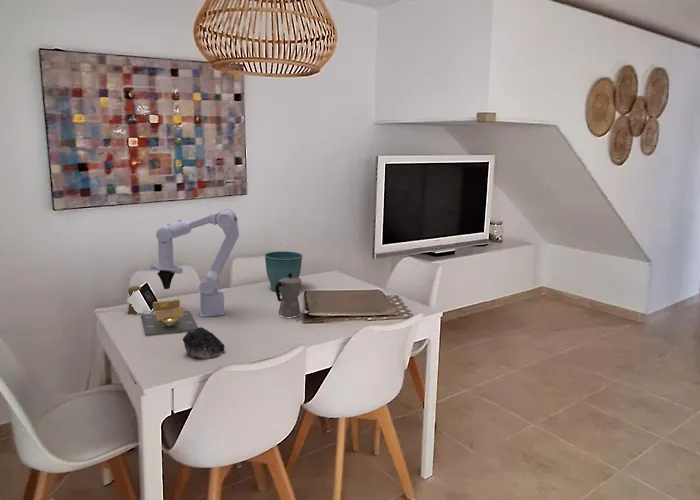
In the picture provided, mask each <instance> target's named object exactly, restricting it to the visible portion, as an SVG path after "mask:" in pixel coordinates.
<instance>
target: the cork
mask: <svg viewBox="0 0 700 500" xmlns="http://www.w3.org/2000/svg"><path fill="white" fill-rule="evenodd" d="M141 289H142V287H140V286H138V285H133V286H130V287H128V291H127V293H128V295H129V297H130V296H131V295H132V293H133V291H134V292H135V291H137V290H141ZM131 305H132V304H130V303H129V302H128V310H127V314H128V313H130V314H137V312H136V311H135V310H134V308H133V307H132V306H131ZM130 314H129V315H130Z"/></svg>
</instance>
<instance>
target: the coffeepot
mask: <svg viewBox="0 0 700 500" xmlns="http://www.w3.org/2000/svg"><path fill="white" fill-rule="evenodd" d="M288 276H289V278H282V279H280V280H279V282H278V283H277V284H276V286H275V291H274V292H275V294H276V297H277V301H278V302H280V303H279V309H278V314H279V315H281V316H284V317H293V316H298V315H299V314H300V313H301V309H300V300H299V296H300V292H301V287H302V286H301V285H302V278H300V277H299V278H292V274H291V273H289V274H288ZM279 287H280V292H279ZM279 315H278V316H279ZM300 315H301V314H300Z"/></svg>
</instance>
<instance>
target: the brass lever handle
mask: <svg viewBox="0 0 700 500" xmlns="http://www.w3.org/2000/svg"><path fill="white" fill-rule="evenodd" d="M184 311H185V310H184V307H183V306H180V307H177V308H174V309H167V310H159V311H155V314H156V320H157V321H159V320H162V324H165V325H172V324H176V323H178V318H180V317H184Z"/></svg>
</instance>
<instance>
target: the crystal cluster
mask: <svg viewBox="0 0 700 500" xmlns="http://www.w3.org/2000/svg"><path fill="white" fill-rule="evenodd" d="M182 341H183V344H184V349H185V350H186V353H187V355H188V354H189V356H191V357H193V358H198V359H204V358H205V359H210V358H215V357H218V356H221V355H222V354H223V353H224V350H225V349H226V347H225V345H224V343H223V342H222V341H221V340H220V338H219V337H217V336H216V335H215V334H214V333H212V332H210V330H208V329H206V328H204V327H202V326H200V327H198V328H196V329H195V331H191V332H190V331H189V332H186V334H185V335H184V336H183V337H182Z"/></svg>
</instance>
